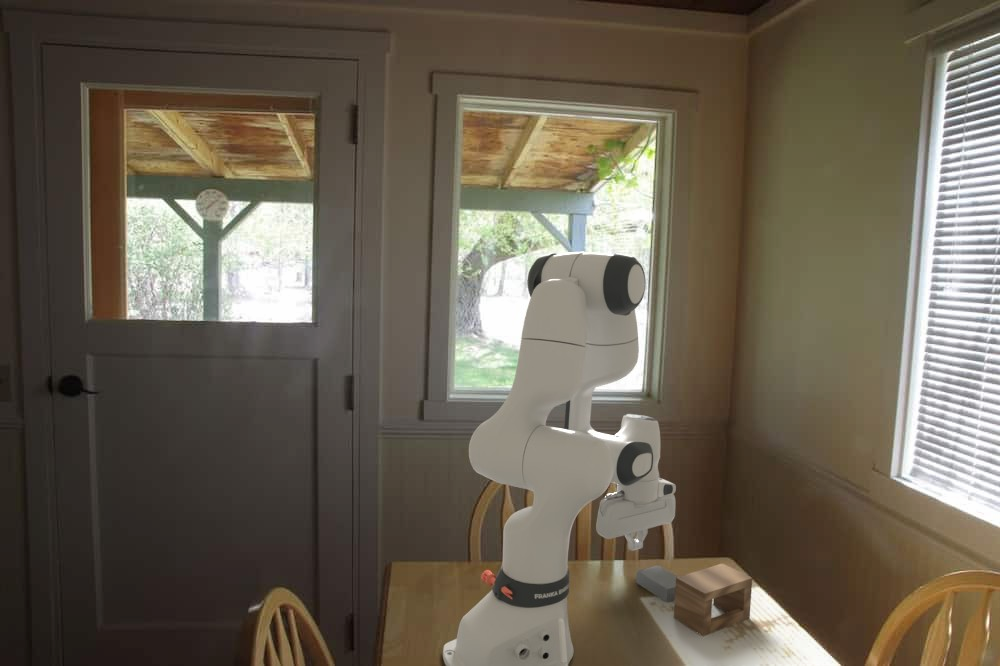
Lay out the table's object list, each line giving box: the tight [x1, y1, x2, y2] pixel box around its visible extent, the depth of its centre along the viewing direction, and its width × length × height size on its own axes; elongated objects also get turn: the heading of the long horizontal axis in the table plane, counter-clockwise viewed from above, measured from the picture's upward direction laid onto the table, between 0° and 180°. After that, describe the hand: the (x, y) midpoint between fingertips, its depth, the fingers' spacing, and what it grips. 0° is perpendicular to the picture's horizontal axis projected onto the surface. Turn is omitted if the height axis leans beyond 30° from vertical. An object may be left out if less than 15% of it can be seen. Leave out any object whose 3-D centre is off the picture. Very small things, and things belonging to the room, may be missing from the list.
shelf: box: [673, 563, 753, 637], centre depth 122 cm, size 13×7×8 cm, turn 121°
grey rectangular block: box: [635, 564, 679, 603], centre depth 133 cm, size 6×9×3 cm, turn 29°
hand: (635, 548), depth 141 cm, fingers closed
